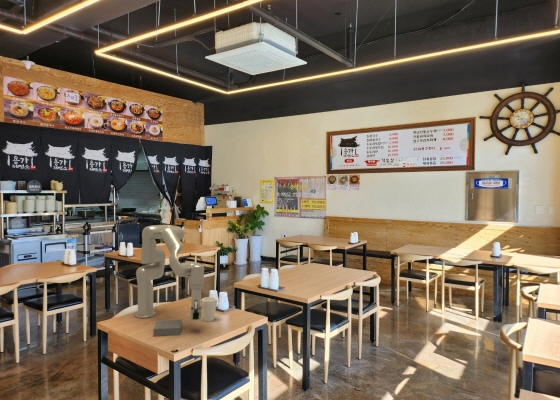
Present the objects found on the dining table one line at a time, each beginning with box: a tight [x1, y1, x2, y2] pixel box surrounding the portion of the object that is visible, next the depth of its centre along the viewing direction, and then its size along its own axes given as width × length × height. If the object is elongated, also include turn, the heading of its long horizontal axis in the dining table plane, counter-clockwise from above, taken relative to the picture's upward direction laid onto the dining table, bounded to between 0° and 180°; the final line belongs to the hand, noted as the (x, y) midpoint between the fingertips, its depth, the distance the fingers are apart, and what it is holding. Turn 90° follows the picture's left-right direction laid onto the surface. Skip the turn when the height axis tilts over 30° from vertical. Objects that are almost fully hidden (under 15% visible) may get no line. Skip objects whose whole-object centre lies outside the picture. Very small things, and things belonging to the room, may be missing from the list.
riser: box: [153, 319, 182, 337], centre depth 225 cm, size 14×14×4 cm
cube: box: [189, 306, 203, 321], centre depth 226 cm, size 6×6×6 cm
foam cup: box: [201, 296, 218, 323], centre depth 246 cm, size 10×9×13 cm
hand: (195, 316), depth 226 cm, fingers closed on cube, 6 cm apart
